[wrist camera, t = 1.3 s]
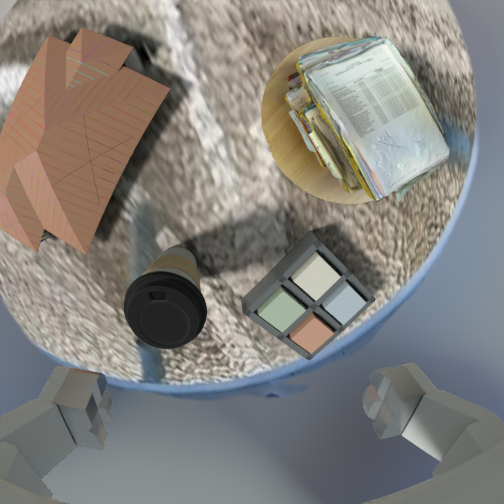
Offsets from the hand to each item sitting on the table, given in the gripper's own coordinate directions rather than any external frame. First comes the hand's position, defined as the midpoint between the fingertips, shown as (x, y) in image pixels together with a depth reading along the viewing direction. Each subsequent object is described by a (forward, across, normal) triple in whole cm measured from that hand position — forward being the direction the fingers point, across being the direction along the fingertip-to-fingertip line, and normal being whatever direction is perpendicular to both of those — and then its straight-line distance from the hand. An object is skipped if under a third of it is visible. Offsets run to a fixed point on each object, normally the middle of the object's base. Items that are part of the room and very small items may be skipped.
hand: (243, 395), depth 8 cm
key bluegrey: (+34, -19, +14) cm, 41 cm away
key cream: (+33, -14, +9) cm, 38 cm away
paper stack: (+36, -17, -13) cm, 42 cm away
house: (+37, +24, -8) cm, 45 cm away
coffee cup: (+37, +6, +10) cm, 38 cm away
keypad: (+36, -15, +14) cm, 42 cm away
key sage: (+34, -10, +15) cm, 38 cm away
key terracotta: (+34, -15, +19) cm, 42 cm away
